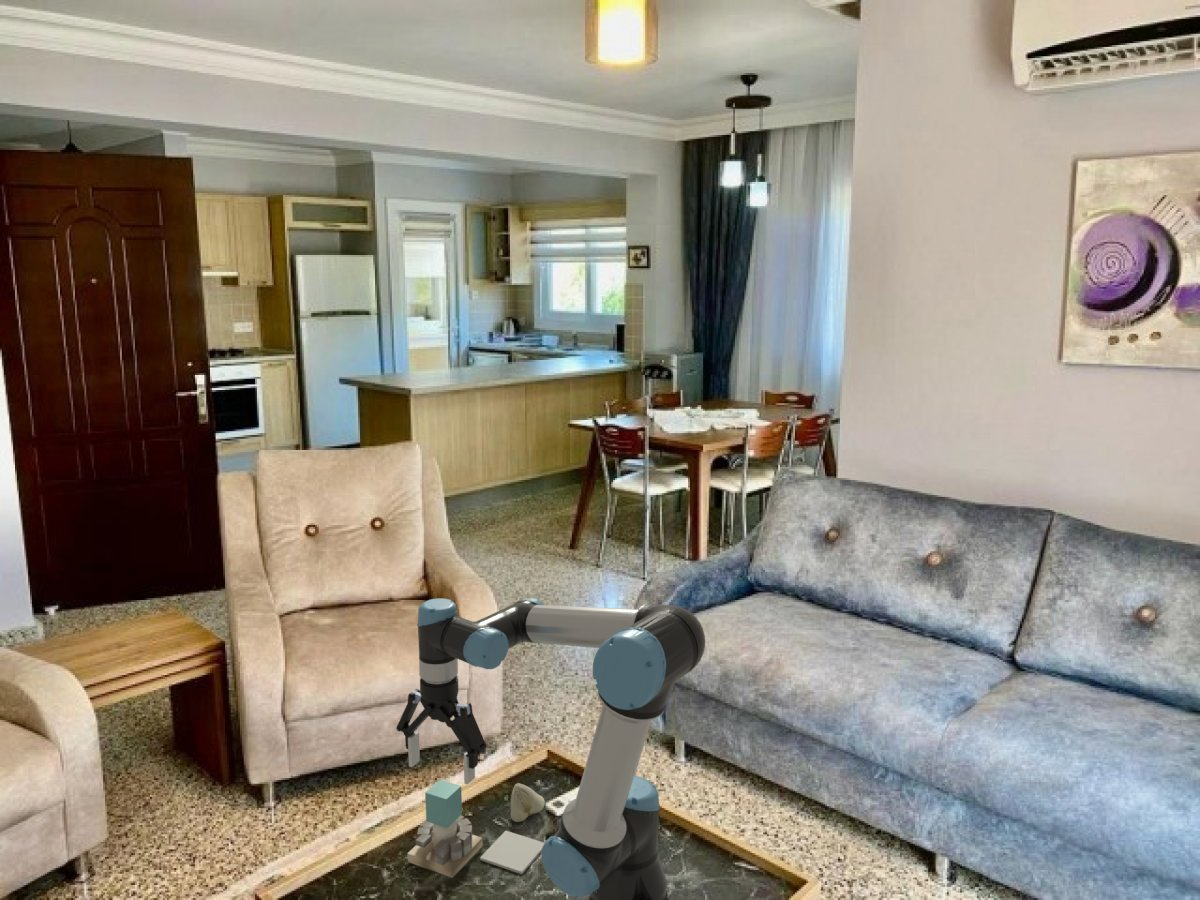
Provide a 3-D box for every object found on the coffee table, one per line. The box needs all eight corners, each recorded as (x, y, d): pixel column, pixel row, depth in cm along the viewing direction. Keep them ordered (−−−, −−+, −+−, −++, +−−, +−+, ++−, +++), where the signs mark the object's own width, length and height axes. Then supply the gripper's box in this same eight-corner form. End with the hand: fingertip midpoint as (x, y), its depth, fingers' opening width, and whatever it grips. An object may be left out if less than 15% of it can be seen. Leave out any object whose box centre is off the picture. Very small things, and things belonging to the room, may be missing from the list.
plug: (463, 841, 191) (461, 785, 188) (448, 856, 186) (446, 799, 183) (435, 832, 194) (433, 777, 191) (420, 846, 189) (418, 790, 186)
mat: (546, 845, 192) (546, 843, 192) (522, 874, 184) (522, 871, 184) (505, 832, 197) (505, 830, 197) (480, 860, 188) (480, 857, 188)
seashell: (510, 822, 197) (498, 789, 202) (519, 834, 203) (507, 802, 208) (544, 804, 198) (531, 772, 203) (552, 817, 204) (540, 786, 209)
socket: (482, 846, 192) (481, 822, 191) (452, 877, 183) (451, 852, 181) (439, 832, 197) (438, 808, 196) (407, 861, 187) (406, 837, 186)
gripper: (502, 681, 179) (503, 778, 184) (400, 655, 190) (403, 748, 195) (481, 698, 173) (483, 798, 177) (376, 670, 183) (380, 765, 188)
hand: (441, 772), depth 186 cm, fingers open, 13 cm apart
